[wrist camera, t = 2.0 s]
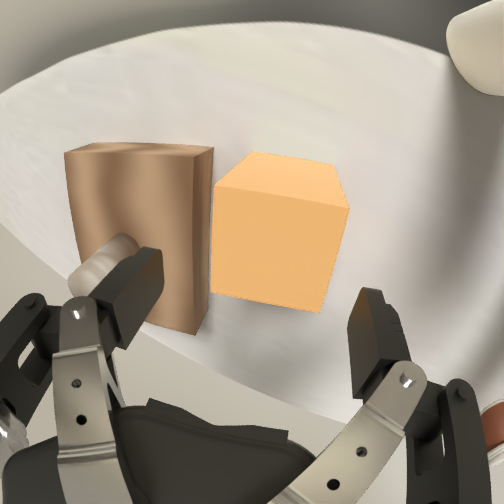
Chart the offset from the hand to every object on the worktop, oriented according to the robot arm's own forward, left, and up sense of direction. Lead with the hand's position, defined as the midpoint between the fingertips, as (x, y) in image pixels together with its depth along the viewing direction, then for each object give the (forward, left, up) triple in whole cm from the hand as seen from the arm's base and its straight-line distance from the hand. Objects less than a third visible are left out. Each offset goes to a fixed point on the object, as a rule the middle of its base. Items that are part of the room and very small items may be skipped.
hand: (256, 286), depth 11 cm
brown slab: (+12, +5, -12) cm, 18 cm away
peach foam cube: (0, +2, -12) cm, 12 cm away
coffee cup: (-47, +30, -12) cm, 57 cm away
